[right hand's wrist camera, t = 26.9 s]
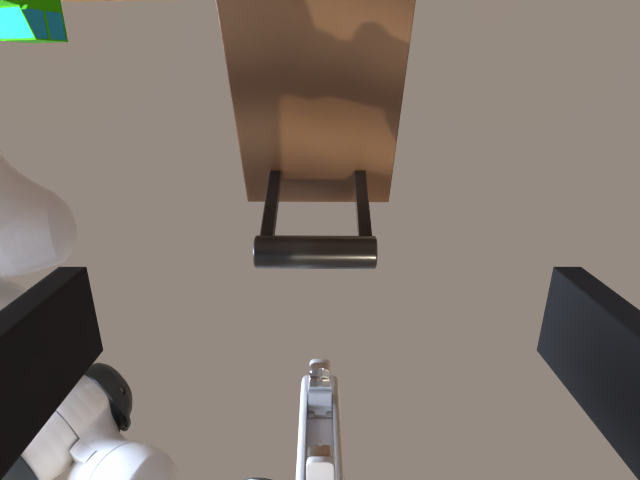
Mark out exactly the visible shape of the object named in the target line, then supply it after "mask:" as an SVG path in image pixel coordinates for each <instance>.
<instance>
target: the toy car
mask: <svg viewBox="0 0 640 480" xmlns="http://www.w3.org/2000/svg"><path fill="white" fill-rule="evenodd" d="M0 41H10V42H25V43H50V42H68V40H67V34H66V29H65V23H64V18H63V12H62V7H61V1H60V0H0Z"/></svg>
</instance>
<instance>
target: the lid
mask: <svg viewBox="0 0 640 480" xmlns="http://www.w3.org/2000/svg"><path fill="white" fill-rule="evenodd" d="M415 2H416V0H216V5H217V12H218V18H219V24H220V30H221V36H222V43H223V49H224V55H225V61H226V68H227V74H228V80H229V86H230V93H231V99H232V105H233V111H234V118H235V124H236V130H237V136H238V143H239V149H240V155H241V161H242V168H243V174H244V180H245V186H246V193H247V199H248V201H261V202H262V201H264V202H265V205H264V211H263V218H262V224H261V230H260V235H257V236H255V239H254V244H253V261H254V266H255V267H256V268H303V269H375V268H376V265H377V239H376V237H375V236H372V231H371V220H370V210H369V202H388V201H389V195H390V187H391V180H392V172H393V165H394V157H395V150H396V143H397V135H398V128H399V120H400V113H401V105H402V98H403V91H404V83H405V76H406V69H407V61H408V54H409V46H410V39H411V31H412V24H413V17H414V9H415ZM278 202H356V216H357V232H358V236H274V235H275V227H276V219H277V211H278Z"/></svg>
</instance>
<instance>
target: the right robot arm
mask: <svg viewBox="0 0 640 480" xmlns="http://www.w3.org/2000/svg"><path fill="white" fill-rule="evenodd" d="M102 351H103V347H102V342H101V337H100V332H99V327H98V322H97V317H96V313H95V307H94V303H93V298H92V293H91V288H90V283H89V278H88V273H87V268H86V267H58V268H57V269H56V270H54V271H53V272H51V273H50V274H49V275H48V276H46V277H45V278H43V279H42V280H41V281H39V282H38V283H37V284H35V285H34V286H33V287H31V288H30V289H29V290H27V291H26V292H24V293H23V294H22V295H20V296H19V297H18V298H16V299H15V300H14V301H12V302H11V303H10V304H8V305H7V306H6V307H4V308H3V309H1V310H0V480H2V479H3V477H4V476H5V475H6V473H7V472H8V471H9V470H10V468H11V467H12V466H13V465H14V463H15V462H16V461H17V459H18V458H19V457H20V456H21V454H22V453H23V452H24V451H25V449H26V448H27V447H28V445H29V444H30V443H31V442H32V440H33V439H34V438H35V437H36V435H37V434H38V433H39V431H40V430H41V429H42V428H43V426H44V425H45V424H46V422H47V421H48V420H49V419H50V417H51V416H52V415H53V414H54V412H55V411H56V410H57V408H58V407H59V406H60V405H61V403H62V402H63V401H64V400H65V398H66V397H67V396H68V394H69V393H70V392H71V391H72V389H73V388H74V387H75V386H76V384H77V383H78V382H79V380H80V379H81V378H82V377H83V375H84V374H85V373H86V372H87V370H88V369H89V368H90V366H91V365H92V364H93V363H94V361H95V360H96V359H97V357H98V356H99V355H100V354H101V352H102ZM537 351H538V352H539V354H540V355H541V356H542V357H543V359H544V360H545V361H546V362H547V364H548V365H549V366H550V368H551V369H552V370H553V372H554V373H555V374H556V375H557V377H558V378H559V379H560V380H561V382H562V383H563V384H564V386H565V387H566V388H567V389H568V391H569V392H570V393H571V394H572V396H573V397H574V398H575V400H576V401H577V402H578V403H579V405H580V406H581V407H582V408H583V410H584V411H585V412H586V414H587V415H588V416H589V417H590V419H591V420H592V421H593V422H594V424H595V425H596V426H597V428H598V429H599V430H600V431H601V433H602V434H603V435H604V437H605V438H606V439H607V440H608V442H609V443H610V444H611V445H612V447H613V448H614V449H615V451H616V452H617V453H618V454H619V456H620V457H621V458H622V459H623V461H624V462H625V463H626V465H627V466H628V467H629V468H630V470H631V471H632V472H633V473H634V475H635V476H636V477H637V479H638V480H640V310H639V309H637V308H636V307H634V306H633V305H632V304H630V303H629V302H628V301H626V300H625V299H624V298H622V297H621V296H620V295H618V294H617V293H616V292H614V291H613V290H611V289H610V288H609V287H607V286H606V285H605V284H603V283H602V282H601V281H599V280H598V279H597V278H595V277H594V276H592V275H591V274H590V273H588V272H587V271H586V270H584V269H583V268H582V267H554V268H553V273H552V278H551V283H550V288H549V293H548V298H547V303H546V307H545V312H544V317H543V322H542V327H541V332H540V337H539V342H538V347H537Z"/></svg>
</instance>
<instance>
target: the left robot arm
mask: <svg viewBox="0 0 640 480" xmlns="http://www.w3.org/2000/svg"><path fill="white" fill-rule="evenodd" d="M76 238H77V224H76V220H75V217H74V215H73V212H72V210H71V209H70V207H69V206H68V204H67V203H66V202H65V201H64V200H63V199H62V198H61V197H60V196H59V195H57V194H56V193H54V192H53V191H51V190H49V189H47V188H45V187H43V186H41V185H39V184H37V183H35V182H34V181H32V180H30V179H29V178H27V177H26V176H25V175H23V174H22V173H21V172H20V171H18V170H17V169H16V168H15V167H14V166H13V165H12V164H11V163H10V162H9V161H8V160H7V159H6V158H5V157H4V155H3V154H2V153H1V152H0V310H1V309H3V308H4V307H6V306H7V305H8V304H10V303H11V302H12V301H14V300H15V299H16V298H18V297H19V296H20V295H22V294H23V293H24V292H26V291H27V290H26V289H25V288H24V287H23V286H21V285H19V284H17V283H15V282H12V281H9V280H6V279H2V278H5V277H12V276H19V275H26V274H29V273H32V272H36V271H39V270H42V269H46V268H49V267H52V266H55V265H58V264H61V263H63V262H64V261H65V260H66V259H67V257H68V256H69V255H70V253H71V252H72V250H73V248H74V245H75V242H76ZM131 410H132V393H131V390H130V388H129V386H128V384H127V382H126V380H125V379H124V377H123V376H122V375H121V374H120V373H119V372H117V371H116V370H115V369H114V368H112V367H111V366H109V365H107V364H102V363H96V364H92V365H91V366H90V368H89V369H88V370H87V372H86V373H85V374H84V375H83V377H82V378H81V379H80V380H79V382H78V383H77V384H76V386H75V387H74V388H73V389H72V391H71V392H70V393H69V394H68V396H67V397H66V398H65V400H64V401H63V402H62V403H61V405H60V406H59V407H58V408H57V410H56V411H55V412H54V414H53V415H52V416H51V417H50V419H49V420H48V421H47V422H46V424H45V425H44V426H43V428H42V429H41V430H40V431H39V433H38V434H37V435H36V437H35V438H34V439H33V440H32V442H31V443H30V444H29V445H28V447H27V448H26V449H25V451H24V452H23V453H22V454H21V456H20V457H19V458H18V459H17V461H16V462H15V463H14V465H13V466H12V467H11V468H10V470H9V471H8V472H7V473H6V475H5V476H4V477H3V479H2V480H53V479H54V478H55V477H57V476H58V475H59V474H61V473H62V472H63V471H65V470H66V469H67V468H69V467H70V466H71V467H70V470H69V473H68V477H67V480H179V474H178V471H177V468H176V465H175V463H174V461H173V460H172V458H171V457H170V456H169V455H168V454H167V453H165V452H164V451H163V450H161V449H159V448H157V447H155V446H152V445H149V444H146V443H142V442H138V441H134V440H129V439H127V438H125V437H123V436H122V435H121V433H120V430H122V431H127V430H128V428H129V427H130V424H131V421H130V417H129V416H130V413H131ZM245 480H271V479H266V478H249V479H245ZM296 480H344V463H343V448H342V431H341V415H340V399H339V385H338V380H337V378H336V376H333V375H330V361H329V360H327V359H313V360H311V361H310V375H307V376H304V377H303V379H302V384H301V398H300V416H299V433H298V451H297V468H296Z"/></svg>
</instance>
